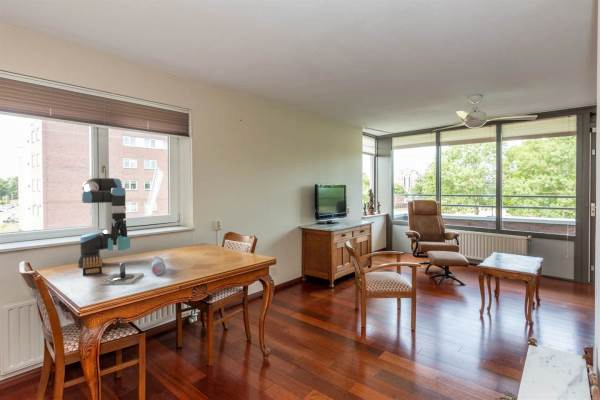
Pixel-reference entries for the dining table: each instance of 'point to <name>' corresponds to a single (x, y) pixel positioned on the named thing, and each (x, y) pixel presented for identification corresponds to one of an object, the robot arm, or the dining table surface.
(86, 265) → the ammunition clip
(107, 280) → the post stand
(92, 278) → the dining table surface
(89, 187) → the robot arm
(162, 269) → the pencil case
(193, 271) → the dining table surface
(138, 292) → the dining table surface
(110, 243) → the collar
